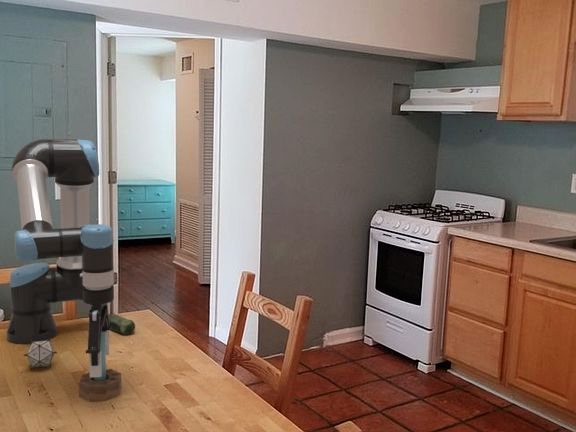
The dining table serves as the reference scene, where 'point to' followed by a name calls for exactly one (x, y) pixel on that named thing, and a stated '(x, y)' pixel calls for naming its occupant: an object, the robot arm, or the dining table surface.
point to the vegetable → (121, 324)
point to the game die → (40, 353)
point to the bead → (100, 386)
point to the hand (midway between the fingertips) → (99, 365)
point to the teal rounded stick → (102, 359)
